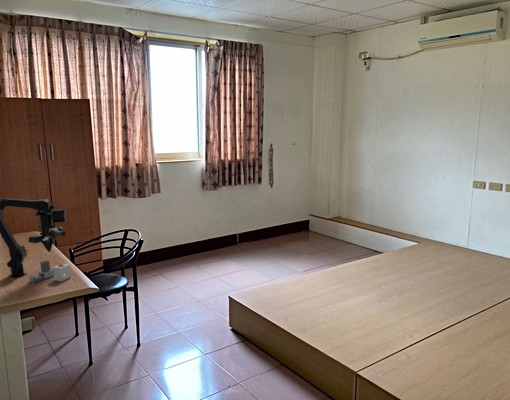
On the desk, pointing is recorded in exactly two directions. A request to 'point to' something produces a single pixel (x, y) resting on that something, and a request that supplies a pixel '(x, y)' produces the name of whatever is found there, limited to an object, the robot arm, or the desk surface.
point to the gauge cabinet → (61, 272)
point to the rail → (37, 278)
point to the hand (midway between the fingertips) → (49, 251)
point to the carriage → (46, 269)
